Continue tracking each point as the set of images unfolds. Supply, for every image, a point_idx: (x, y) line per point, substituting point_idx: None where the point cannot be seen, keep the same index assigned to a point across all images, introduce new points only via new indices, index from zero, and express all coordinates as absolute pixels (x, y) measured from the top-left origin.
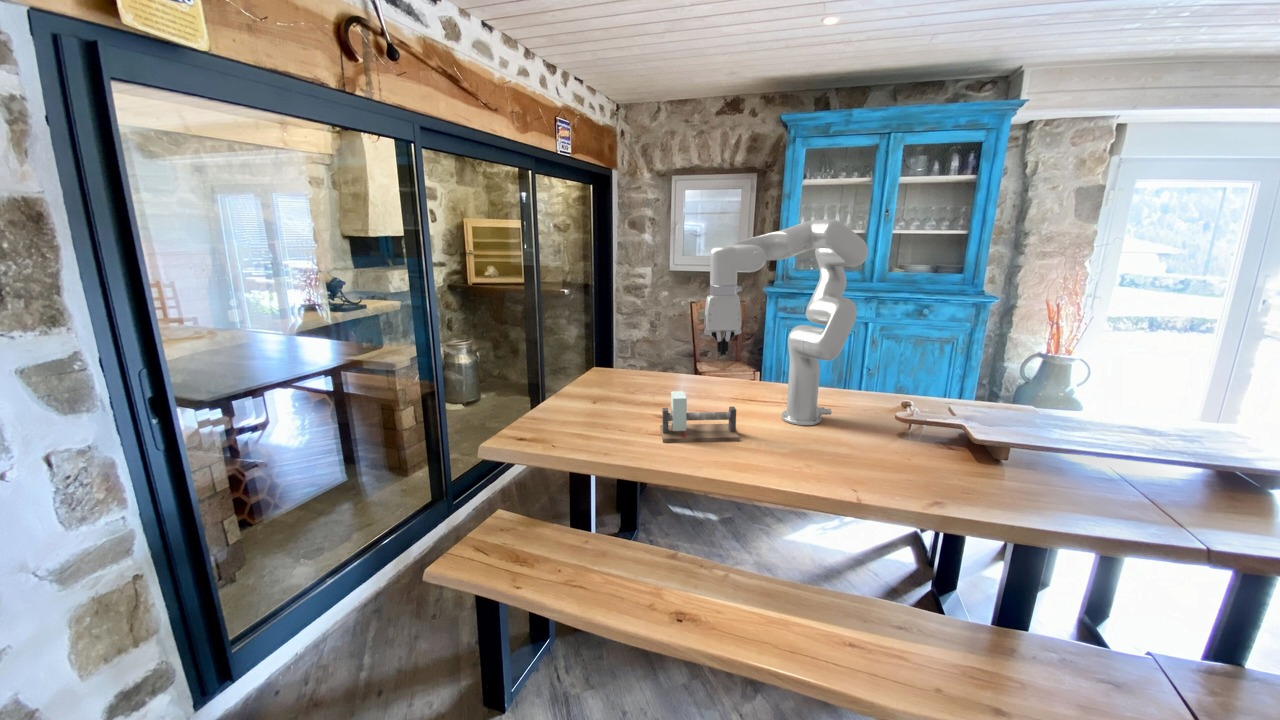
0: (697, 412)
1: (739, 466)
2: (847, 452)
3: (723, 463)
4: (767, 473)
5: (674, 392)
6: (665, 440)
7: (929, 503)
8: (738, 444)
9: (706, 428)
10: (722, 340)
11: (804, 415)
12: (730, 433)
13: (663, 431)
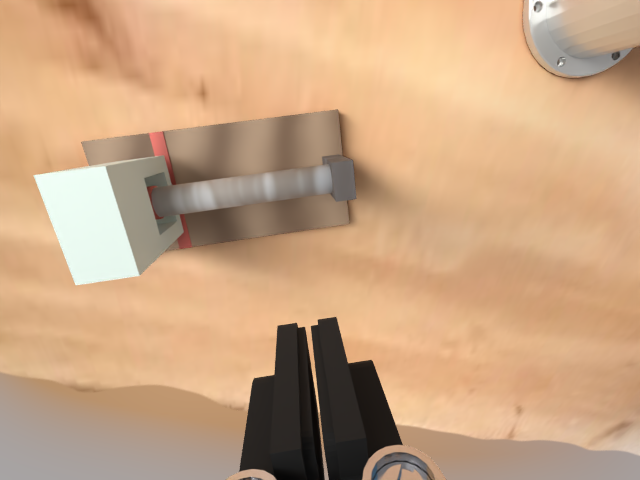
0: (206, 196)
1: None
2: (590, 258)
3: None
4: (383, 375)
5: (57, 192)
6: None
7: (609, 429)
8: (341, 239)
9: (250, 162)
10: (330, 468)
11: (599, 54)
12: (325, 198)
13: None
